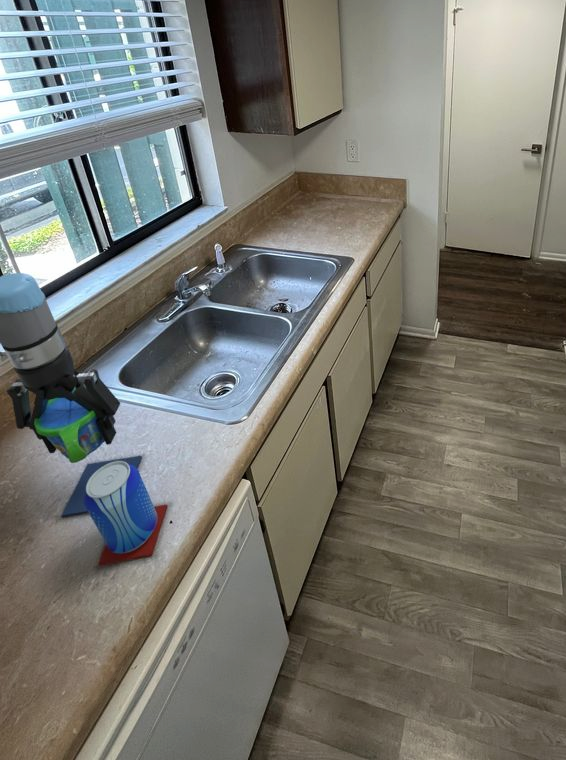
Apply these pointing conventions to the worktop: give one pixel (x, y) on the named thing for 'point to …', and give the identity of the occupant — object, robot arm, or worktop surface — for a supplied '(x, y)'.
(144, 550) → the red mat
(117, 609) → the worktop surface
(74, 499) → the blue mat
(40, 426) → the snack cup
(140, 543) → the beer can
